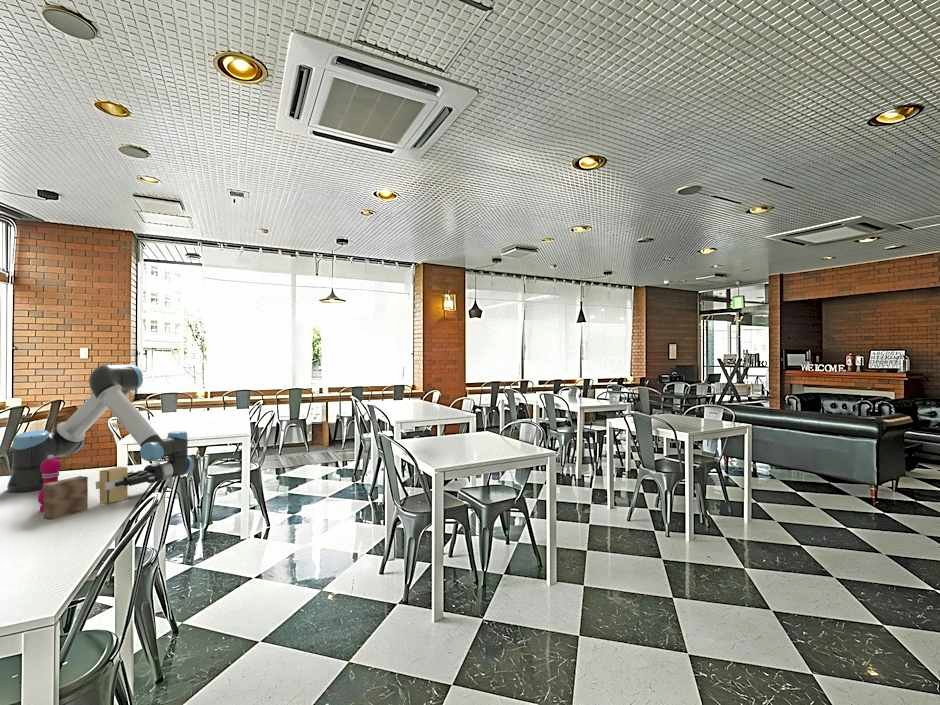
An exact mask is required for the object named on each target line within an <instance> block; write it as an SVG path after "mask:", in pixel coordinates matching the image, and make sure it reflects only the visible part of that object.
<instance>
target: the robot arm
mask: <svg viewBox="0 0 940 705" xmlns="http://www.w3.org/2000/svg"><path fill="white" fill-rule="evenodd" d="M143 377H144V375H143V373H142V370H141V369H140V368H139V367H138V366H136V365H134V364H128V363H125V364H124V363H122V364H104V365H100V366H98V367H95V368H94V370H92V372H91V373H90V375H89V378H88V384H89V388H90V391H91V393H92V394H90V396H89V397H88V398H87V399H86V400H85V401H84V403H82V404H81V406H80V407H78V408H77V410H76V411H74V412H73V414H72V415H71V416H70V417H69V418H68V419H67V420H66V421H63V422H59V423H58V424H57V425H56V426H55V427H54V428H53V430H51V431H48V430H46V429H39V430H38V429H36V430H31V431H30V430H29V431H25V432H21V433H18V434H16V435H14V437H13V439H12V445H11V447H12V473H11V474H10V477H9V481H8V483H7V487H6V488H7V489H6V491H7V493H25V492H26V493H27V492H33V491H39V490H40V491H41V489H42V487H43V482H44V480H43V478H42V473H43V472H42V471H41V470H40V465H41V463H42V462H43V461H45V460H48V456H49V455H53V456H54V458H53V459H56V458H59V457H64V456H71V455H72V454H75V453H77V452H79V451H80V450H81V449H82V448H83V446H84V444H85V438H86V432H87V431H88V430H89V429H90V428H91V427H92V426H93V425H94V423H96V422H97V421H98V419H100V417H101V416H102V415H104V413H105V412H106V411H107V410H108V409H109V410H110V411H111V413H112V414H113V415H114V416H115V417H116V419H117V420H118V421H119V423H120V424H121V425H122V426H123V427H124V429H125V430H126V431H127V432H128V434H130V435H131V437H132V438H133V440H135V442H136V443H137V444H138V445H139V447H140V449H139V453H140V458H142V460H144V461H145V462H153V461H159V460H161V459H163V458H166V457H167V460H166V461H165V460H163V461H160V462H156V463H152V464H149V465H148V464H147V465H146V466H145V467H144V469H142V470H138V471H135V472H134V471H127V477H124V481H123V479H119V480H115V481H111V482H107V483H105V490H109V489H113V488H117V487H121V486H123V485H124V486H127V487H132V486H136V485H139V484H140V485H141V484H143V483H148V484H153V483H158V482H160V480H161V481H163V480H162V479H164V478H166V479H165V480H169V479H172V478H176V477H183V476H185V475H187V474H190V473H191V472H192V471H193V470H194V467H195V462H194V460H193V458H191V457H190V456H188V448H189V445H188V444H189V439H188V432H187V431H185V430H175V431H174V430H173V431H169V432H168V433H167V437H166V438H163V439H162V438H161V436H160V435H159V434H158V433H157V432H156V431H155V429H154V428H153V427H152V425H151V424H150V423H149V422H148V421H147V419H145V417H144V416H143V415H142V414H141V413H140V411H139V409H138V408H137V407H136V406H135V405H134V404H133V403H132V401H131V400H130V399H129V398H128V396H127V394H129V392H131V391H135V390H137V389H139V388H141V386H142V384H143V381H144V378H143ZM95 489H96V490H100V480H98V481H95Z"/></svg>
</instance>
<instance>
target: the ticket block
mask: <svg viewBox="0 0 940 705" xmlns="http://www.w3.org/2000/svg"><path fill="white" fill-rule="evenodd" d="M88 479H89V478H88V476H84V475H83V476H82V475H79V476H74V477H70V478H65V479H61V480H58V481H55V482H50V483H46V484H43V486H44V512H43V519H44V520H48V521H49V520H50V521H53V520H57V519H60V518H63V517H67V516H71V515H74V514H78V513H81V512H85V511H86V512H87V511H88V510H89V508H88V507H89V506H88V505H89V504H88V501H89V499H88V498H89V497H88V496H89V492H88V491H89V490H88V486H89V483H88Z"/></svg>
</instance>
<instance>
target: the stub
mask: <svg viewBox="0 0 940 705" xmlns="http://www.w3.org/2000/svg"><path fill="white" fill-rule="evenodd" d="M127 473H128V467H127V466H117V467H112V468H108V469H107V468H106V469H101V470H99V481H100V489H99V503H100V504H104V505H105V504H106V505H107V504H110V503H113V502H119V501H122V500H125V499H128V497H129V496H128V485H127V486H124V485H123V486H121V487H117V488H113V489H109V490H105V483H107V482H111V481H115V480H119V479H123V481H124V477H127Z"/></svg>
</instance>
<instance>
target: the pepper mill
mask: <svg viewBox="0 0 940 705" xmlns="http://www.w3.org/2000/svg"><path fill="white" fill-rule="evenodd" d="M61 468H62V463H61V461H60V460H59V459H56V458H54V456H53V455H49V456H48V460H45V461H43V462H42V463H41V465H40V470H41V471H42V472H43V473H42V478H43V480H44V482H43V484H46V483H50V482H55V481H59V476H60V473H61V472H60V469H61ZM37 496H38V497H37V502H38V503H39V504H40V506H39V513H40V512H41V513H44V486H43V487H42V489H41V490H40V491H39V494H38V495H37Z"/></svg>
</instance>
